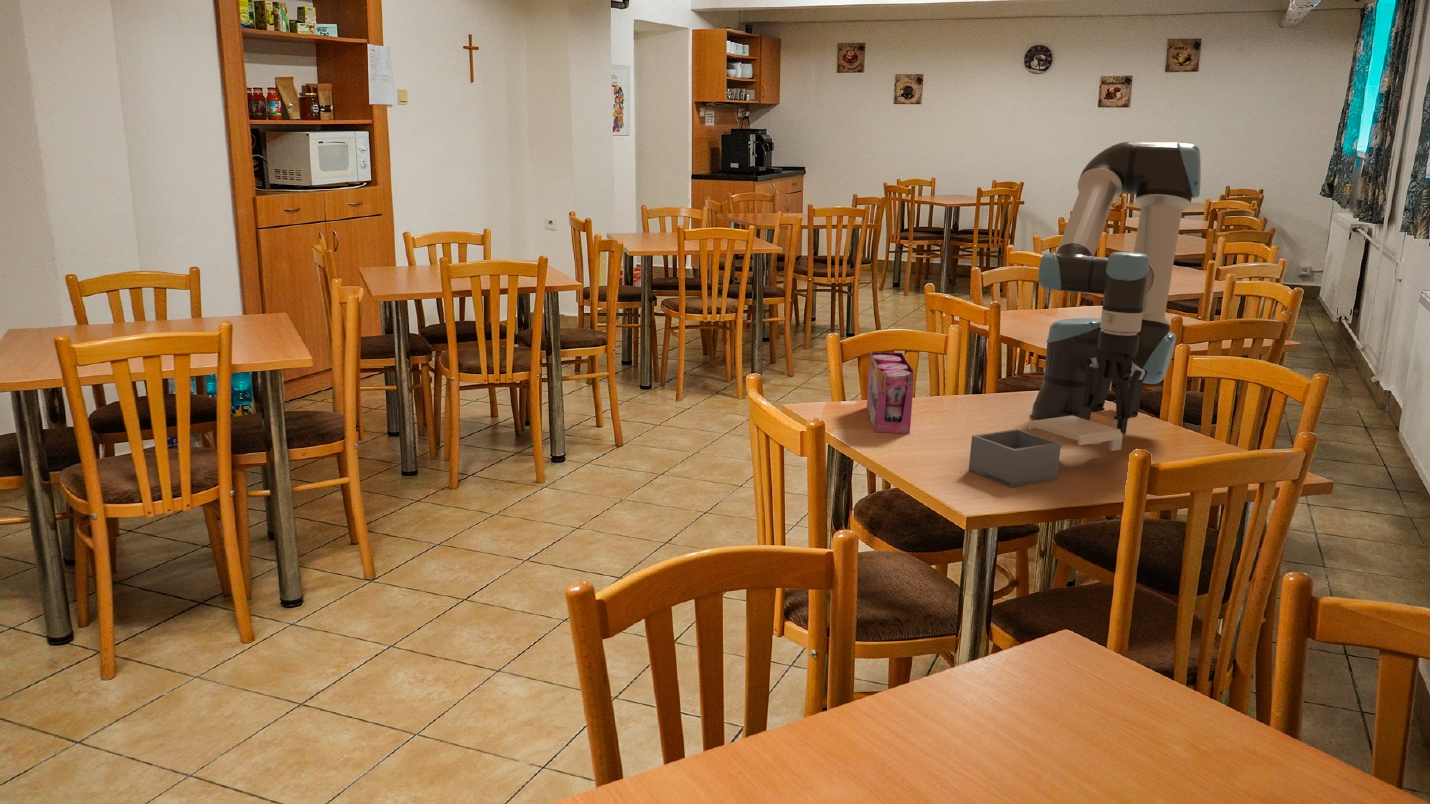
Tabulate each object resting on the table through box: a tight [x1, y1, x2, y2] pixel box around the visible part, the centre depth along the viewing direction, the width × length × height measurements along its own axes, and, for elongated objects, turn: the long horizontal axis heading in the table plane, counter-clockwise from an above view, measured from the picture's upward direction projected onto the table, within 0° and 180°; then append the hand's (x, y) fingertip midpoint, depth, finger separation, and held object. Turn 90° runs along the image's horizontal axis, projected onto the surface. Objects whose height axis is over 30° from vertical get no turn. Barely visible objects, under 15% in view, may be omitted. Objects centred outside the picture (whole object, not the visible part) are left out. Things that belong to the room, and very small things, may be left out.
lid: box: [1027, 409, 1123, 446], centre depth 209 cm, size 18×13×4 cm
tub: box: [968, 428, 1062, 488], centre depth 200 cm, size 12×11×7 cm
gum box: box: [866, 351, 915, 434], centre depth 237 cm, size 24×8×14 cm, turn 177°
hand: (1105, 446), depth 213 cm, fingers closed on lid, 4 cm apart
